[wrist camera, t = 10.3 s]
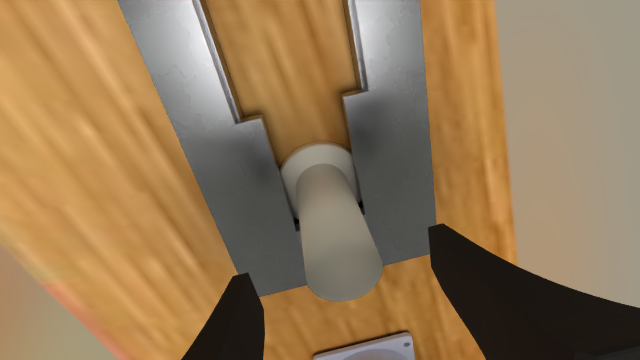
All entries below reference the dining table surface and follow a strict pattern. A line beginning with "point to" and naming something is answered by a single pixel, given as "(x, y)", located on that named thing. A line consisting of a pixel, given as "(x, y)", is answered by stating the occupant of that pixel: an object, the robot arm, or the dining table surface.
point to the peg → (331, 221)
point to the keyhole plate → (255, 147)
